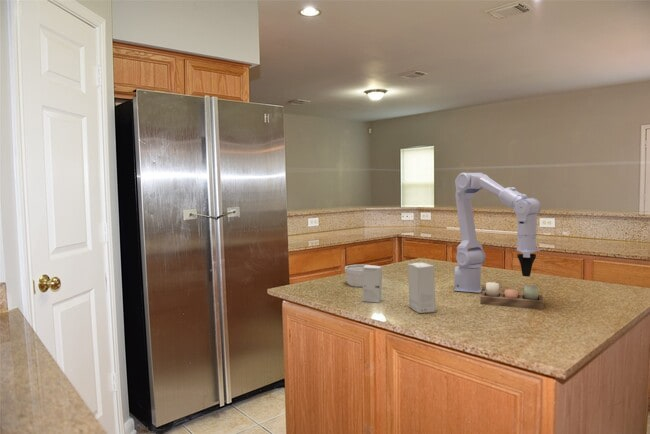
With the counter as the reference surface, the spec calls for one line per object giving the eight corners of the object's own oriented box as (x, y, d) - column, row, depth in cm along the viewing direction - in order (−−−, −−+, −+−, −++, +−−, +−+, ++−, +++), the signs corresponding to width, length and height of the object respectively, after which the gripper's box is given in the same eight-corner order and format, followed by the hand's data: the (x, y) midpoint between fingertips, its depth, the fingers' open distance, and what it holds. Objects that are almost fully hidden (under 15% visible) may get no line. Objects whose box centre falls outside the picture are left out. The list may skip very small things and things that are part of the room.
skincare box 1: (362, 301, 158) (362, 267, 157) (365, 298, 162) (364, 264, 161) (380, 302, 156) (379, 267, 155) (382, 299, 160) (382, 265, 159)
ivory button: (485, 296, 154) (485, 284, 154) (486, 293, 158) (486, 281, 158) (498, 297, 153) (498, 285, 152) (499, 294, 157) (499, 282, 156)
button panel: (480, 303, 153) (480, 296, 153) (482, 297, 161) (482, 290, 161) (543, 309, 145) (543, 301, 145) (542, 302, 154) (542, 295, 153)
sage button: (524, 299, 150) (524, 287, 149) (524, 296, 154) (524, 284, 153) (538, 300, 148) (538, 288, 148) (537, 297, 152) (538, 285, 152)
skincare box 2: (435, 312, 144) (436, 265, 143) (418, 313, 143) (418, 266, 141) (424, 305, 152) (424, 261, 151) (407, 306, 151) (407, 262, 150)
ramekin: (377, 280, 191) (377, 264, 190) (377, 288, 178) (377, 270, 177) (345, 280, 192) (345, 264, 191) (343, 287, 179) (343, 270, 178)
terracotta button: (504, 303, 152) (504, 291, 152) (504, 300, 156) (504, 288, 156) (517, 304, 151) (518, 292, 150) (518, 301, 154) (518, 289, 154)
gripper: (540, 238, 141) (540, 281, 142) (539, 233, 155) (539, 272, 156) (516, 237, 144) (515, 279, 145) (517, 232, 158) (516, 271, 159)
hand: (526, 276), depth 151 cm, fingers closed
